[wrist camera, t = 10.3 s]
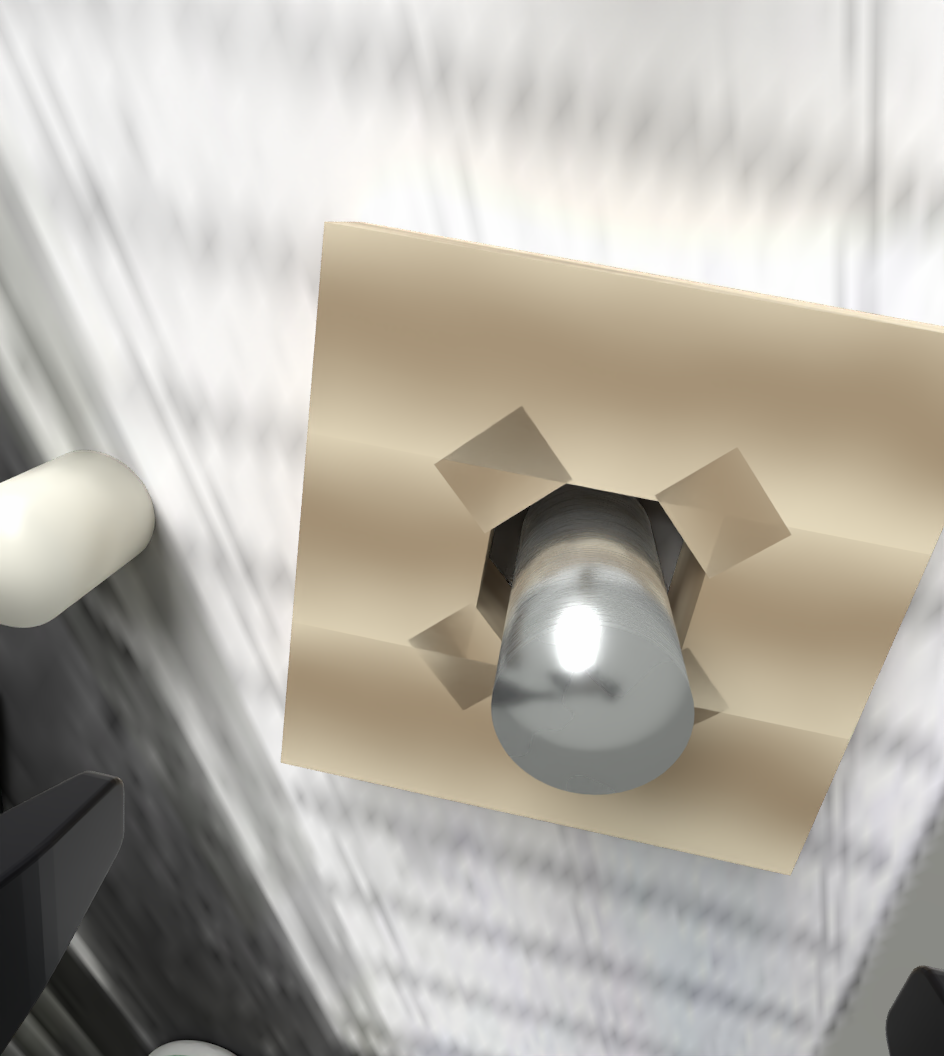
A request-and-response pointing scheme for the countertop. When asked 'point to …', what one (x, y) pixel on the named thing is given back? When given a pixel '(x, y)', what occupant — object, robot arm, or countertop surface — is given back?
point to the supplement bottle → (190, 1049)
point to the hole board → (615, 466)
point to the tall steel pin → (590, 649)
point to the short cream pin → (67, 532)
